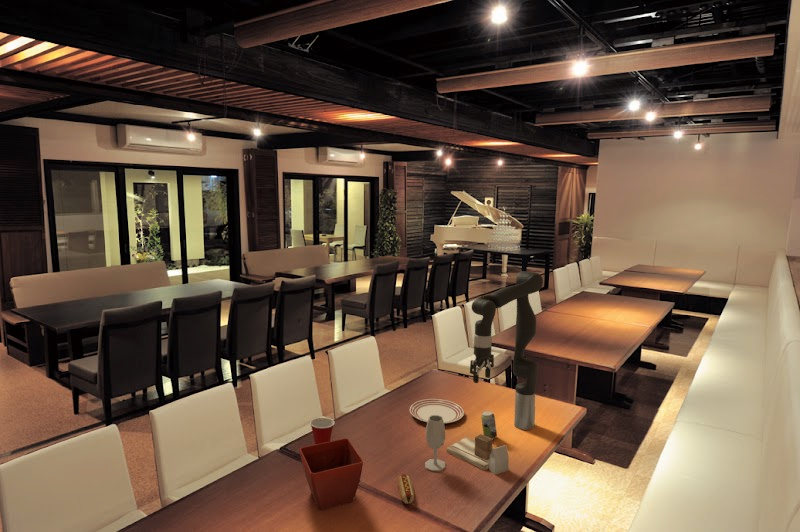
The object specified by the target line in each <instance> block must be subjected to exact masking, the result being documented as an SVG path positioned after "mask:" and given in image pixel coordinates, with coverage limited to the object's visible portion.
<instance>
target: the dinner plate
mask: <svg viewBox="0 0 800 532" xmlns="http://www.w3.org/2000/svg"><path fill="white" fill-rule="evenodd" d="M409 413H410V414H411V415H412V416H413V417H414V418H415V419H416V420H419V421H421V422H424V423H427V421H428V418H429V417H430V416H431V415H439V416H442V417H443V421H444V425H445V424H451V423H454V422H455V423H456V422H457V421H459V420H460V419H462V418H463V416H464V415H465V411H464V409H463V407H461V405H459V404H457V403H456V402H453V401H451V400H447V399H439V398H427V399H421V400H417V401H415V402H414V403H412V405H410V407H409Z"/></svg>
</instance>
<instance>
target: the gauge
mask: <svg viewBox="0 0 800 532" xmlns="http://www.w3.org/2000/svg"><path fill="white" fill-rule="evenodd" d="M474 440H475V448H474V450H475V455H476V456H478V457H480V458H482V459H485V460H488V459H489V458H490V454H491V452H492V448H493V444H494V443H493V441H494V440H493V439H492V438H489V437H487V436H485V435H484V434H482V433H480V434H478V435H476V436H475V437H474Z"/></svg>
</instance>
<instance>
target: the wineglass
mask: <svg viewBox="0 0 800 532" xmlns="http://www.w3.org/2000/svg"><path fill="white" fill-rule="evenodd" d="M425 439H426V443H427V446H428V447H429V448H431V449H432V450H433V458H430V459H428V460H427V461H425V462H424V468H425V469H426V470H428V471H430V472H442V471H443V470H444V469H446V462H445V461H443V460H442V459H439V458H438V450H439V449H440V448H442V447H443V446H444V444H445V440H446V428H445V424H444V421H443V417H442V416H439V415H431V416H430V417H429V418H428V421H427V422H426V427H425Z"/></svg>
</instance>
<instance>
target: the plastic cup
mask: <svg viewBox="0 0 800 532" xmlns="http://www.w3.org/2000/svg"><path fill="white" fill-rule="evenodd" d="M309 425H310V427H311V431H312V436H313V441H314V445H316V444H320V443H325V442H330V441H332V440H331V439H332V434H333V428H334V426H335V420H333V419H332V418H328V417H317V418H316V417H315V418H313V419H310V422H309Z"/></svg>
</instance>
